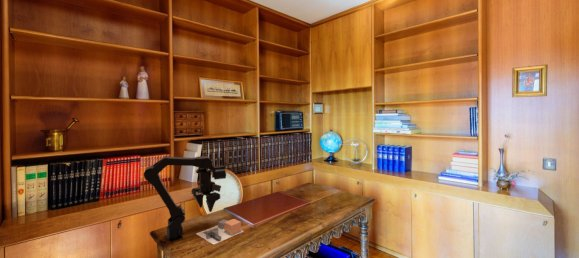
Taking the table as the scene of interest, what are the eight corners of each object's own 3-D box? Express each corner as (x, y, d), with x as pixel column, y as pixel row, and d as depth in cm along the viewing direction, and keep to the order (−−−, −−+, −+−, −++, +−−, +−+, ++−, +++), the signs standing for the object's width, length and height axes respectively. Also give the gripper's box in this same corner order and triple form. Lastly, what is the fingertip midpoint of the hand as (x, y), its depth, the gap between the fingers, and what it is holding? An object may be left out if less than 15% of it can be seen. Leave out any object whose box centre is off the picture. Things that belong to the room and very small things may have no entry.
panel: (213, 247, 122) (213, 238, 121) (195, 235, 132) (195, 227, 132) (243, 233, 135) (243, 225, 135) (225, 224, 146) (225, 217, 145)
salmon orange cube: (231, 235, 131) (231, 225, 130) (224, 231, 134) (224, 222, 134) (240, 231, 135) (240, 221, 135) (233, 227, 139) (233, 218, 139)
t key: (206, 237, 128) (206, 231, 127) (216, 233, 132) (216, 227, 132) (214, 243, 123) (214, 236, 122) (225, 238, 127) (225, 232, 127)
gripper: (229, 180, 135) (229, 209, 136) (209, 174, 147) (209, 201, 148) (210, 185, 127) (210, 216, 128) (190, 178, 139) (191, 206, 140)
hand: (205, 209), depth 136 cm, fingers open, 9 cm apart
